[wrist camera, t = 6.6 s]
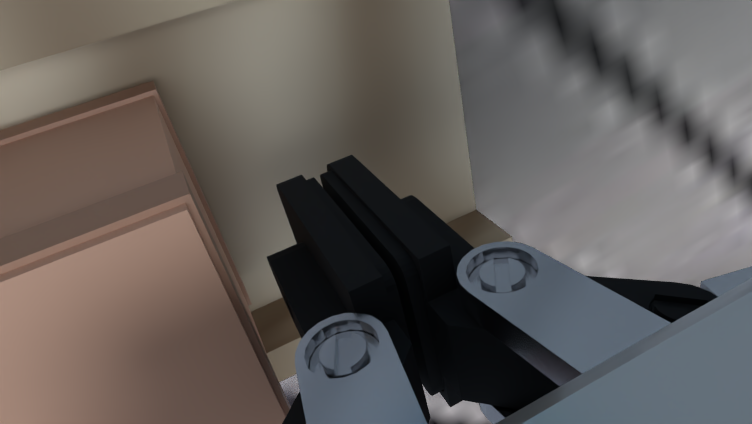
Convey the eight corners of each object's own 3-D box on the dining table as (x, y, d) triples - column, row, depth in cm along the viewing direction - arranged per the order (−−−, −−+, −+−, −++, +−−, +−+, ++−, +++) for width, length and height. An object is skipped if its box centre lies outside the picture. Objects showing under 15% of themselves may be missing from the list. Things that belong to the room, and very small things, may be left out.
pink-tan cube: (151, 76, 12) (191, 199, 7) (242, 280, 16) (321, 479, 10) (-213, 194, 11) (-577, 496, 5) (-24, 397, 14) (-112, 718, 8)
